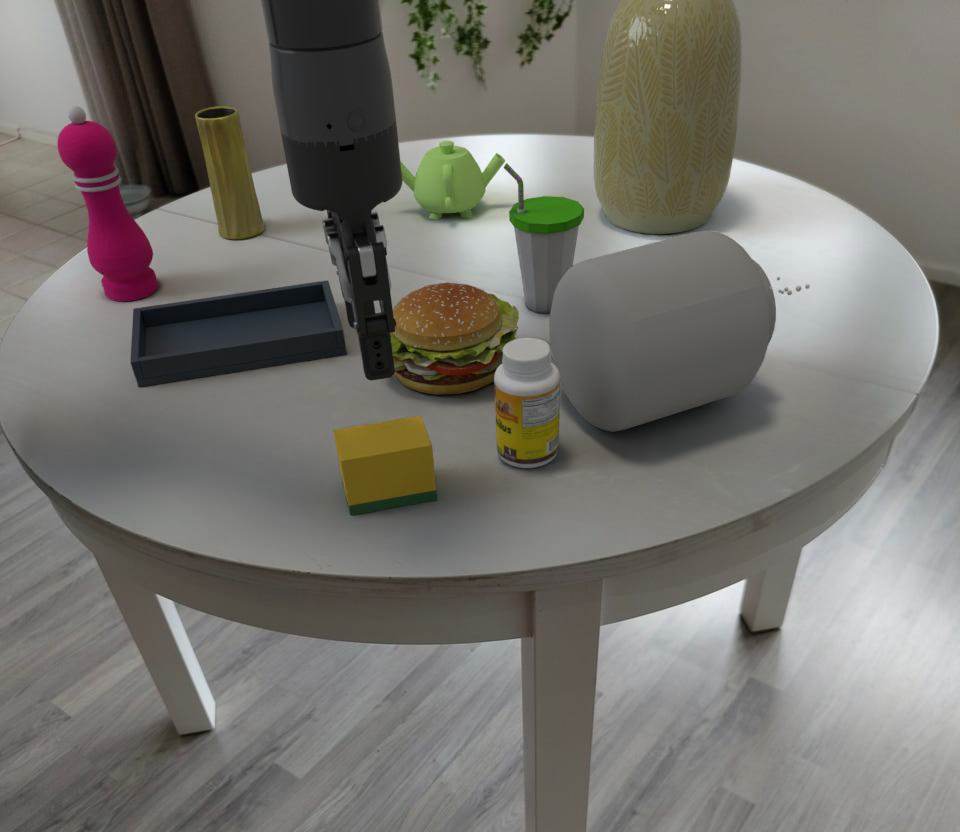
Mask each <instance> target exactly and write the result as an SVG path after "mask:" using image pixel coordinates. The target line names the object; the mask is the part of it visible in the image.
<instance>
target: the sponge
mask: <svg viewBox="0 0 960 832" xmlns="http://www.w3.org/2000/svg"><path fill="white" fill-rule="evenodd" d="M333 437H334V443H335V448H336V452H337V453H336V454H337V459H338V465H339V470H340V476H341V481H342V486H343V489H344V494H345V500H346V502H347V507H348V512H349V516H356V515H362V514H367V513H372V512H378V511H383V510H388V509H389V510H390V509H394V508H400V507H405V506H412V505H417V504H423V503H427V502H433V501H438V494H437V483H436V471H435V462H434V461H435V460H434V453H433V452H434V451H433V450H434V449H433V445H432V441H431V439H430V436H429V433H428V431H427V428H426V425H425V423H424V420H423V418H422V415H414V416H409V417H408V416H407V417H403V418H396V419H391V420H390V419H389V420H385V421H378V422H373V423H366V424H361V425H356V426H349V427H343V428H342V427H341V428H337V429H334V430H333Z"/></svg>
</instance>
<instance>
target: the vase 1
mask: <svg viewBox="0 0 960 832" xmlns="http://www.w3.org/2000/svg"><path fill="white" fill-rule="evenodd" d="M194 118H195V122H196V126H197V130H198V135H199V138H200V139H199V140H200V144H201V148H202V151H203V156H204V161H205V166H206V172H207V177H208V182H209V187H210V193H211V197H212V203H213V207H214V212H215V217H216V222H217V229H218V230H217V231H218V234H219V235H220V236H221V237H222V238H224V239H228V240H245V239H246V240H247V239H251V238H253V237H256V236H258V235H260V234H262V233H263V232H264V231H265V229H266V225H265V222H264V219H263V216H262V212H261V207H260V203H259V199H258V195H257V192H256V187H255V182H254V179H253V174H252V169H251V165H250V161H249V157H248V152H247V147H246V143H245V139H244V138H245V137H244V134H243V129H242V124H241V118H240V113H239V110H238V109H237V108H236V107H233V106H229V105H217V106H211V107H210V106H209V107H207V108H203V109H201V110H198V111H196V113H195V114H194Z"/></svg>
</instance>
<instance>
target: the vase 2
mask: <svg viewBox="0 0 960 832" xmlns="http://www.w3.org/2000/svg"><path fill="white" fill-rule="evenodd" d="M742 54H743V39H742V25H741V20H740V15H739V12H738V9H737V6H736V4H735V2H734V0H620V1H619V2H618V5H617V6H616V8H615V10H614V12H613V14H612V15H611V18H610V21H609V24H608V26H607V30H606V35H605V38H604V42H603V48H602V55H601V59H600V67H599V71H598V72H599V74H598V80H597V82H598V83H597V91H596V102H595V115H594V127H593V128H594V129H593V182H594V189H595V194H596V197H597V200H598V202H599V204H600V206H601V210H602V211H603V213H604V215H605V217H606V219H607V220H608V221H609V222H610V223H611V224H612V225H614V226H616V227H618V228H620V229H623V230H626V231H631V232H634V233H639V234H648V235H669V234H677V233H678V234H679V233H682V232H683V233H684V232H687V231H691V230H693V229H697V228H699V227H701V226H702V225H704V224H705V223H707V222H708V221H709V220H710V219H711V217H712V215H713V214H714V212H715V211H716V209H717V208H718V206H719V205H720V203H721V201H722V199H723V197H724V195H725V193H726V191H727V188H728V185H729V181H730V177H731V172H732V166H733V161H734V154H735V153H734V152H735V147H736V140H737V134H738V133H737V131H738V124H739V113H740V104H741V103H740V102H741V101H740V100H741V87H742V72H743V71H742V70H743V69H742V67H743V55H742Z"/></svg>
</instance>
